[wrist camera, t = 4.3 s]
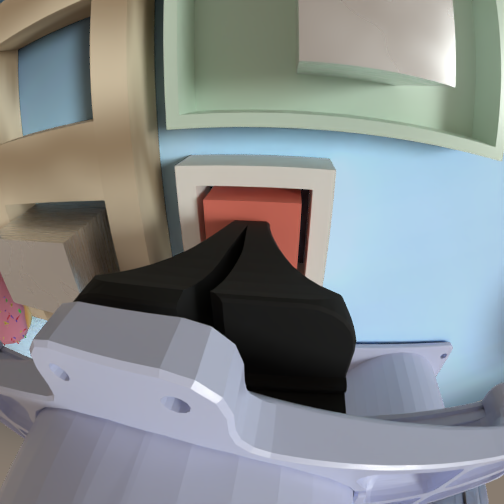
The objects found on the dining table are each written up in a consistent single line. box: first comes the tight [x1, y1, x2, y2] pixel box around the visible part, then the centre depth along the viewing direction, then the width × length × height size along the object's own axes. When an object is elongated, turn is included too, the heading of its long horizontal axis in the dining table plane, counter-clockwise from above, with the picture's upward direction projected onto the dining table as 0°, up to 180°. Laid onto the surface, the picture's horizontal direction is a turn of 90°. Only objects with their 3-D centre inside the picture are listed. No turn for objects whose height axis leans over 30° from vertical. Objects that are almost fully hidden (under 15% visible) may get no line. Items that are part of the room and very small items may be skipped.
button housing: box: [175, 155, 336, 286], centre depth 13 cm, size 6×6×2 cm
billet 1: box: [0, 200, 121, 313], centre depth 14 cm, size 4×6×5 cm, turn 91°
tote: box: [163, 0, 504, 161], centre depth 8 cm, size 10×13×2 cm
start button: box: [203, 186, 302, 269], centre depth 13 cm, size 4×4×2 cm
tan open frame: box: [0, 0, 172, 320], centre depth 12 cm, size 20×11×2 cm, turn 1°
